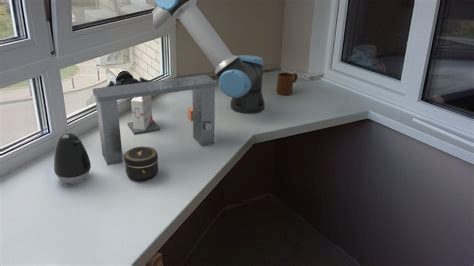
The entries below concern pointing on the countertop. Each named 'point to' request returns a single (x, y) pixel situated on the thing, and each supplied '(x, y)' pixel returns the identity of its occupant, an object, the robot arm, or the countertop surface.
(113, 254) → the countertop surface
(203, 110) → the grey gantry arch
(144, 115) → the ink cartridge box
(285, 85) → the mug
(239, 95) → the robot arm
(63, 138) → the black egg-shaped piece
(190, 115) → the terracotta clay block
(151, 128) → the mat
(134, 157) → the jar
